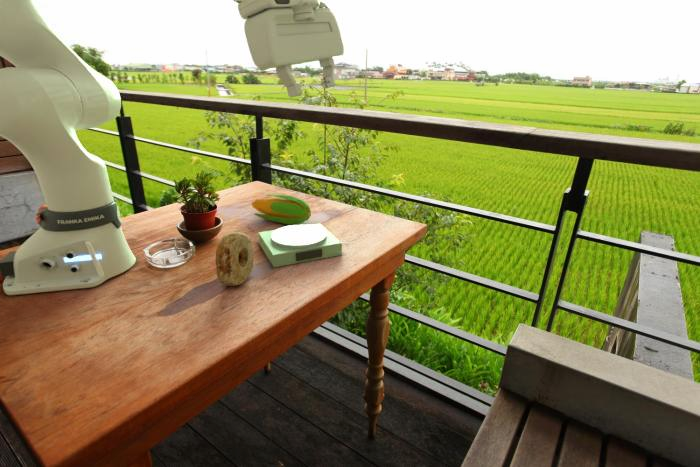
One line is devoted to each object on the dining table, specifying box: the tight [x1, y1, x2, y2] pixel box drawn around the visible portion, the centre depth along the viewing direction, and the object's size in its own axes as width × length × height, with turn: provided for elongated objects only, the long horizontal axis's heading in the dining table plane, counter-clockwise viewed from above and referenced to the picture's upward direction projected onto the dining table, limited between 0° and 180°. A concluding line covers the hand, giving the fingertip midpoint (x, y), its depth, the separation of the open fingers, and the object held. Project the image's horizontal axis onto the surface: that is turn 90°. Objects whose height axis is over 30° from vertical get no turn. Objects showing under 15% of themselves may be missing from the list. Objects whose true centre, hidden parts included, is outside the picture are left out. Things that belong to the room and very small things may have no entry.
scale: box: [257, 222, 343, 268], centre depth 91 cm, size 16×14×4 cm
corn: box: [251, 193, 312, 226], centre depth 109 cm, size 7×8×20 cm
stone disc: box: [215, 231, 255, 287], centre depth 76 cm, size 10×4×10 cm, turn 166°
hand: (313, 91), depth 65 cm, fingers open, 8 cm apart
